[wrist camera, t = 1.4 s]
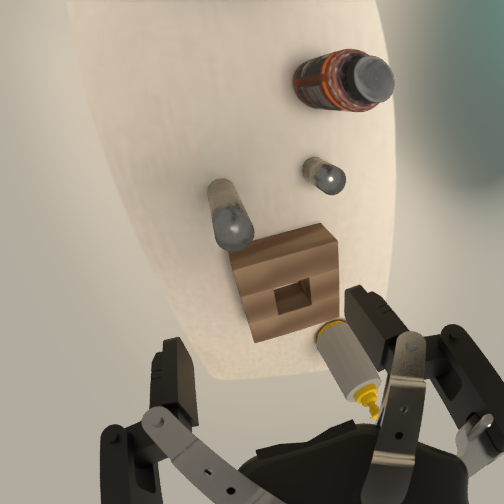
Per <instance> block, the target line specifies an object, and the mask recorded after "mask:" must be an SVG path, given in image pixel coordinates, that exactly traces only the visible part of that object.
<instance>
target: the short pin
mask: <svg viewBox="0 0 504 504" xmlns="http://www.w3.org/2000/svg"><path fill="white" fill-rule="evenodd" d="M302 172H303V176H304V177H305V179H306V180H308V181H309V182H310V183H312V184H313V185H315V186H316V187H317V188H319V189H320V190H321V191H323V192H324V193H326V194H328V195H335V194H338V193H339V192H341V191H342V190H343V188H344V186H345V183H346V176H345V173H344V172H343V170H341V169H340V168H338V167H336V166H334V165H332V164H330V163H328V162H326V161H324V160H322V159H320V158H316V157H314V158H310V159H308V160H307V161H306V162H305V163H304V165H303V169H302Z"/></svg>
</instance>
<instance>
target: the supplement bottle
mask: <svg viewBox="0 0 504 504" xmlns="http://www.w3.org/2000/svg"><path fill="white" fill-rule="evenodd" d="M294 86H295V90H296V93H297V95H298V96H299V98H300V99H301V100H302V101H303V102H304V103H305V104H307V105H308V106H310V107H313V108H316V109H325V110H338V111H350V112H365V111H368V110H370V109H372V108H374V107H375V106H376V105H378V104H379V103H380V102H384V101H386V100H387V99H389V98H390V96H391V95H392V93H393V90H394V86H395V85H394V76H393V73H392V71H391V69H390V67H389V66H388V65H387V64H386V63H385V62H384V61H383V60H382V59H380V58H378V57H376V56H369V55H368V54H366V53H365V52H362V51H360V50H355V49H345V50H341V51H337V52H333V53H330V54H327V55H324V56H320V57H318V58H315V59H311V60H309V61H307V62H305V63H303V64H302V65H301V66H300V67H299V68H298V70H297V71H296V73H295V77H294Z"/></svg>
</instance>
